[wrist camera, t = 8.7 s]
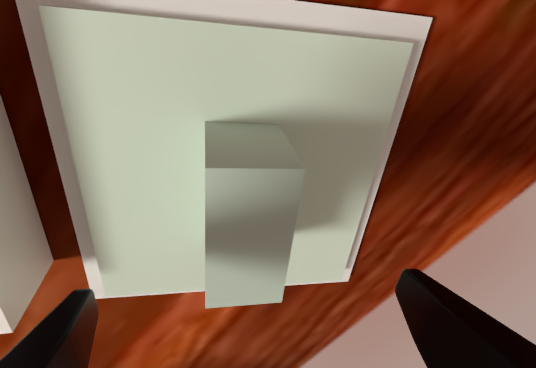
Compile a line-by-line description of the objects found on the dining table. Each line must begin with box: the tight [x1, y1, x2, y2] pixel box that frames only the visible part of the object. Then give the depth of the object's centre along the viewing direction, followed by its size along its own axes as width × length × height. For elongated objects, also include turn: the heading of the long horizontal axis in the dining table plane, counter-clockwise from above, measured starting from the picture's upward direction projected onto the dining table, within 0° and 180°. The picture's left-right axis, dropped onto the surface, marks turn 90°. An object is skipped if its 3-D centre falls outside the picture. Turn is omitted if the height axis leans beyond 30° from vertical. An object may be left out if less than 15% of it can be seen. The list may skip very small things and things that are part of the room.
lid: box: [38, 5, 414, 308], centre depth 13 cm, size 13×13×5 cm
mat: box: [15, 0, 433, 299], centre depth 15 cm, size 15×15×1 cm
